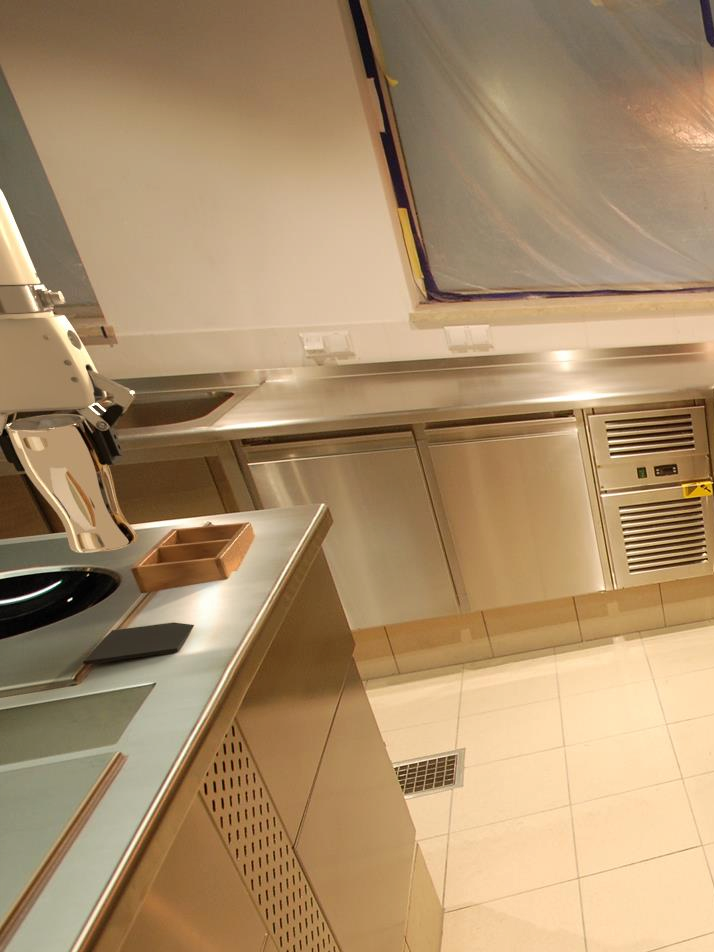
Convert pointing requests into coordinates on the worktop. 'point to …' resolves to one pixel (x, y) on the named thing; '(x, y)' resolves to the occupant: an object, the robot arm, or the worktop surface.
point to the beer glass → (72, 479)
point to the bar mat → (140, 642)
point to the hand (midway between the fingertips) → (70, 464)
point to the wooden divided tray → (193, 556)
